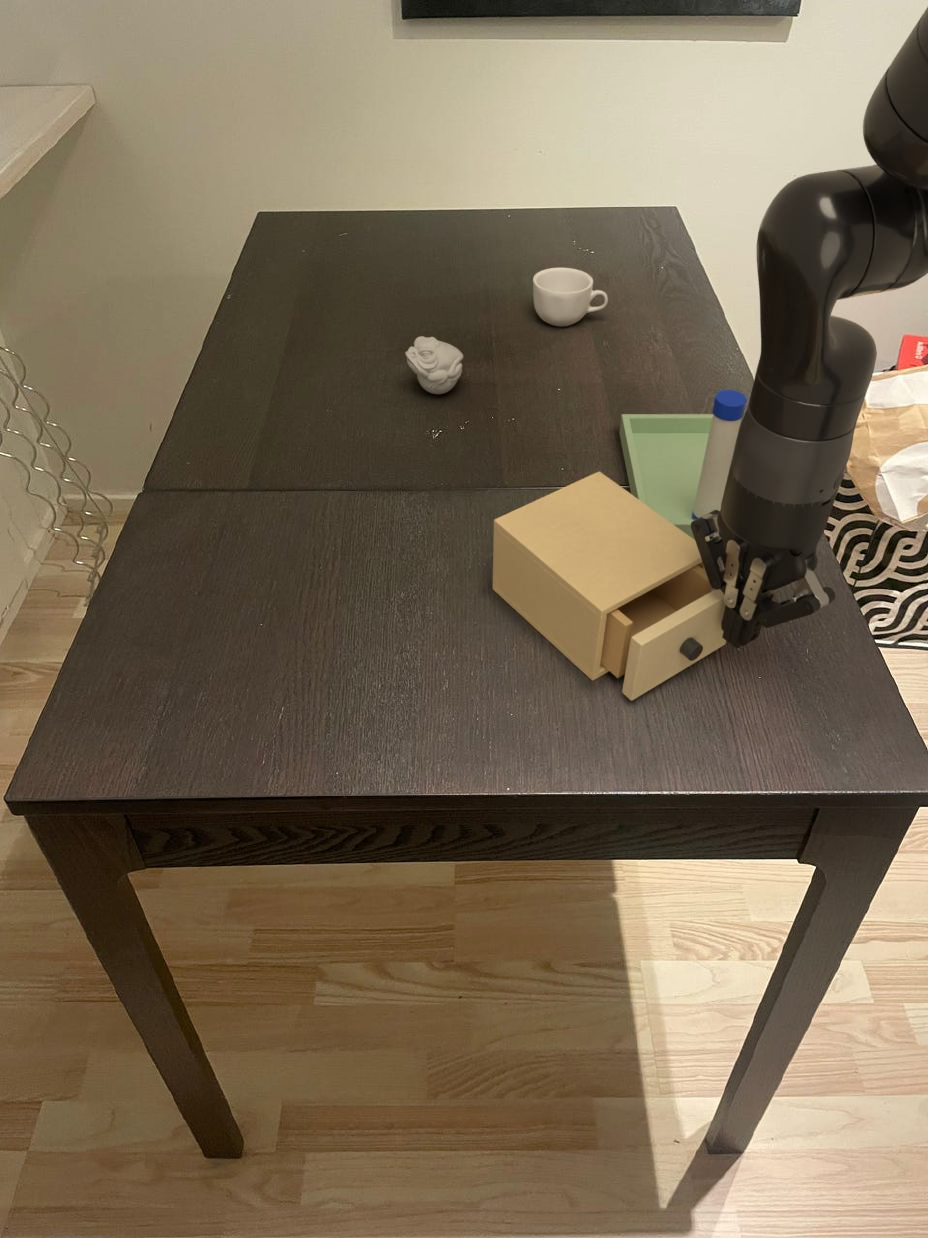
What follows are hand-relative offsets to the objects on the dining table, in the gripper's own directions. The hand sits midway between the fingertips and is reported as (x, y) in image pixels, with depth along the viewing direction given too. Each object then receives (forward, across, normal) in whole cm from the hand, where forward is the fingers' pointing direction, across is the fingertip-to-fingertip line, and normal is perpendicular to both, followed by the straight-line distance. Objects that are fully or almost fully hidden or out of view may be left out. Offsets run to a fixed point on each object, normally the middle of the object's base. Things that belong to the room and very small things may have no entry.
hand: (737, 639), depth 79 cm
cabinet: (+5, -14, -4) cm, 15 cm away
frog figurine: (+5, -53, +6) cm, 53 cm away
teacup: (+5, -58, +30) cm, 65 cm away
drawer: (+4, -8, -4) cm, 10 cm away
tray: (+5, -22, +17) cm, 28 cm away
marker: (+4, -16, +14) cm, 22 cm away
